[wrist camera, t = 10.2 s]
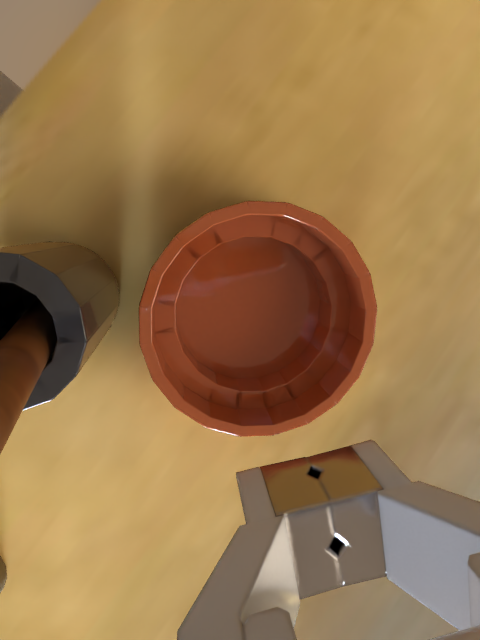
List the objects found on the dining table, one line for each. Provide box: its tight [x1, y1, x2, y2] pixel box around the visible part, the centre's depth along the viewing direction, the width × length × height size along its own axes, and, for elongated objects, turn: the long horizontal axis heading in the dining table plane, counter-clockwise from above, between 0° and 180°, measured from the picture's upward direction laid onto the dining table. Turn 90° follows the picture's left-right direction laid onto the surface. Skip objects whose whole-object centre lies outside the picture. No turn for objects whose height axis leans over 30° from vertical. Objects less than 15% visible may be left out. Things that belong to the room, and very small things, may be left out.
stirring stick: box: [0, 298, 57, 454], centre depth 16 cm, size 2×2×22 cm
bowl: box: [139, 201, 377, 437], centre depth 26 cm, size 13×13×6 cm
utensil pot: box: [0, 241, 119, 411], centre depth 22 cm, size 7×7×10 cm
